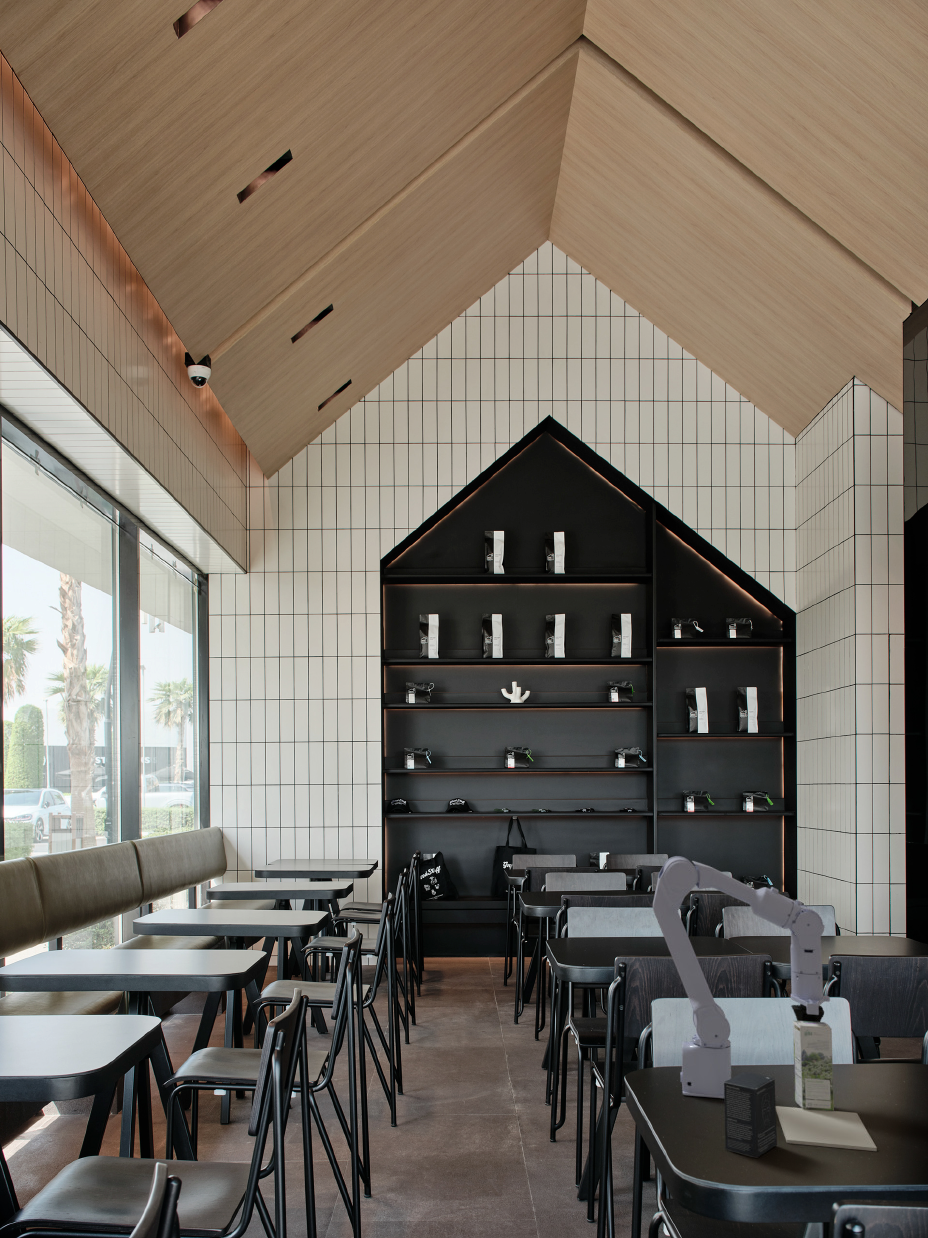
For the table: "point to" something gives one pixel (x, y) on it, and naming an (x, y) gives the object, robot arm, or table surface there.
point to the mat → (824, 1128)
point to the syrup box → (813, 1065)
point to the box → (750, 1114)
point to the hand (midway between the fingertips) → (808, 1046)
